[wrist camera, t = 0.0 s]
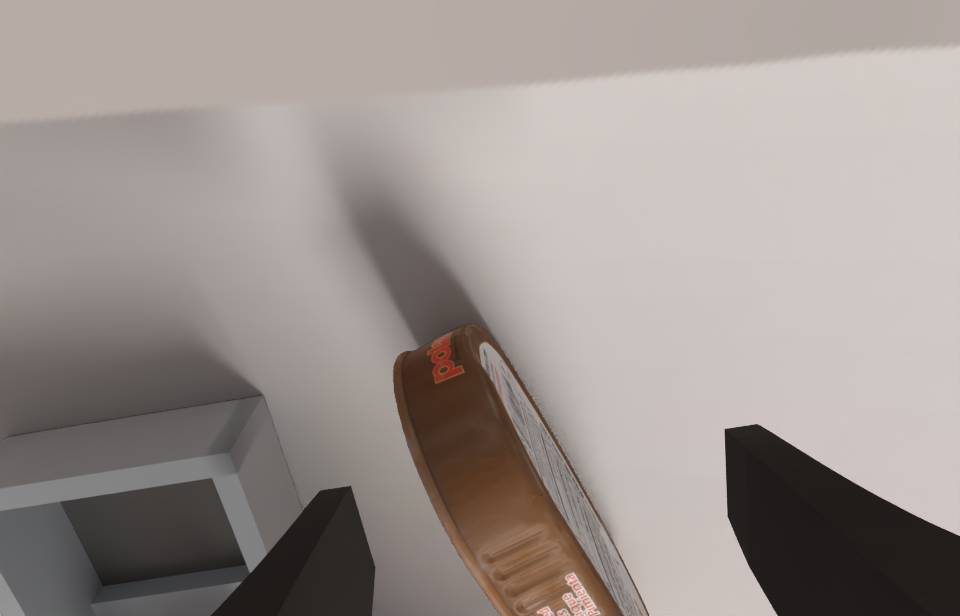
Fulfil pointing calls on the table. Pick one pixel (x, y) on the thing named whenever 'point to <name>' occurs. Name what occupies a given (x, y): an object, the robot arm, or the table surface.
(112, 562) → the trap channel
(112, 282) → the table surface
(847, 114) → the table surface
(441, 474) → the tin
